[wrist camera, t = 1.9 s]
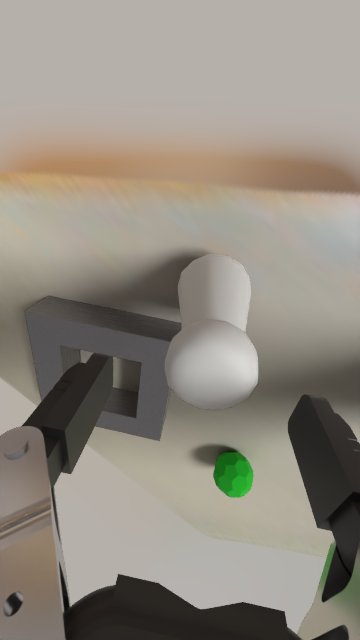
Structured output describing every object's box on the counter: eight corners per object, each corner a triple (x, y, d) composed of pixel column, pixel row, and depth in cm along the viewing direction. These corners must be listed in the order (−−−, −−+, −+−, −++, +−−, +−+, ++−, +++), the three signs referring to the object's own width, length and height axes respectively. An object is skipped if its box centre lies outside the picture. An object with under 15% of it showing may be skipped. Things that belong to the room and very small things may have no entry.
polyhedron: (248, 443, 31) (253, 482, 27) (252, 466, 34) (257, 505, 29) (210, 444, 33) (209, 482, 28) (217, 466, 35) (216, 504, 31)
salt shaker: (169, 270, 22) (115, 363, 10) (225, 232, 19) (234, 297, 8) (204, 319, 23) (192, 443, 12) (259, 290, 21) (306, 406, 10)
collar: (182, 323, 24) (177, 343, 21) (165, 415, 31) (159, 440, 28) (48, 295, 25) (24, 311, 22) (60, 392, 32) (44, 414, 29)
